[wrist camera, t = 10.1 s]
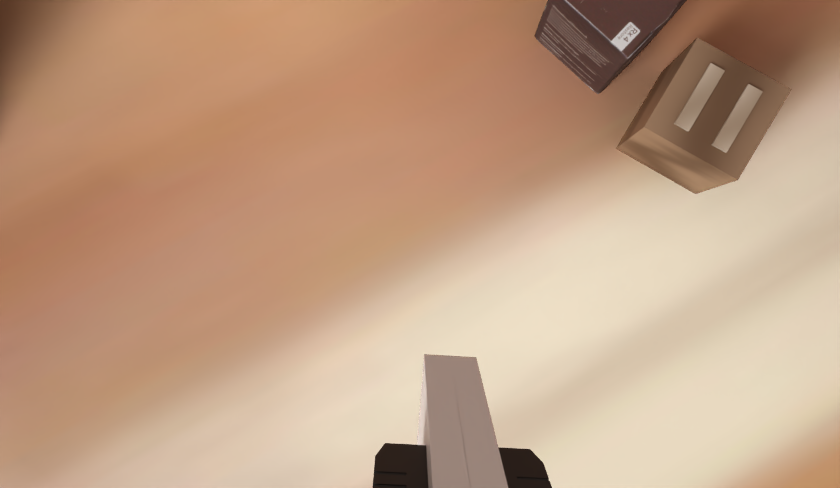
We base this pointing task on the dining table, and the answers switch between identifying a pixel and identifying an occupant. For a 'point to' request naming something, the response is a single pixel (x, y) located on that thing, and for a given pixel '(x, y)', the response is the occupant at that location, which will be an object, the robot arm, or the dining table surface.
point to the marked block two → (703, 118)
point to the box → (601, 34)
